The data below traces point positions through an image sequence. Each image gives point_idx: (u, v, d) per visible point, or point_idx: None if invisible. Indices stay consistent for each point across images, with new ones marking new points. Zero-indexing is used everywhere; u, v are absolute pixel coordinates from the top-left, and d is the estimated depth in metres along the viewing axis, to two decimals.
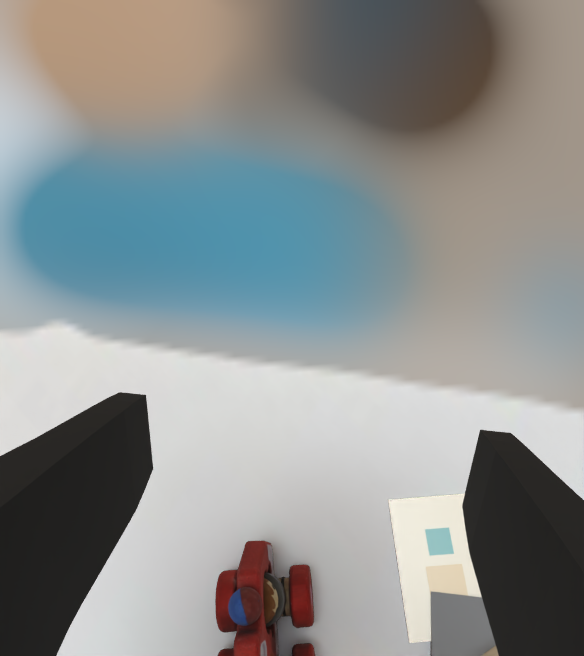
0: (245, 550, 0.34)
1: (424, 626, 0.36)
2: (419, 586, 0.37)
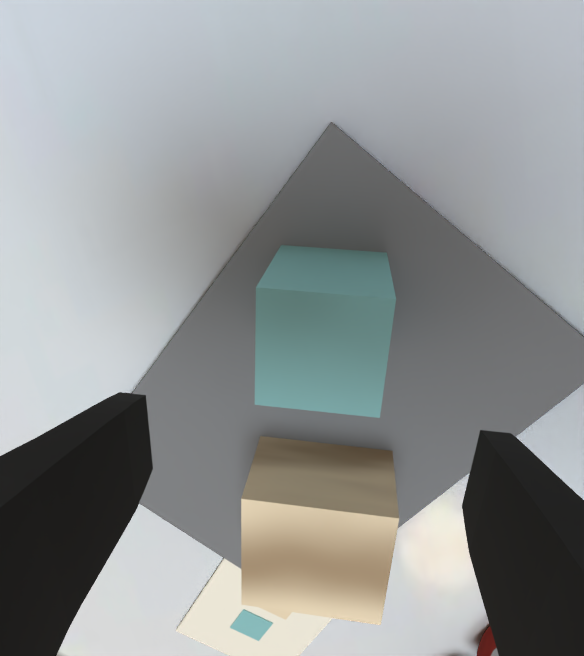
0: None
1: None
2: None
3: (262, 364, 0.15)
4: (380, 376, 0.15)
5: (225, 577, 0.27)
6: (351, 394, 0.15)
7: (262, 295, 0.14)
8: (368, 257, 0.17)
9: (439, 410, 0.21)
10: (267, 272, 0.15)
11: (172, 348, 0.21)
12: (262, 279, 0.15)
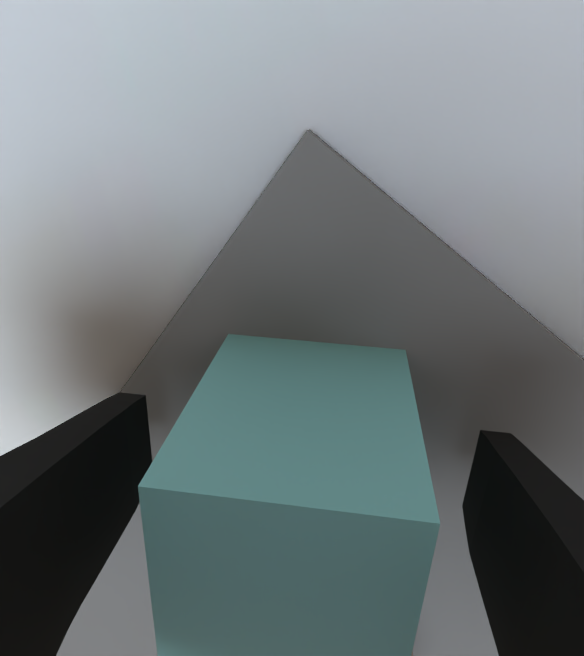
0: None
1: None
2: None
3: (166, 613, 0.08)
4: (402, 649, 0.07)
5: None
6: None
7: (153, 501, 0.07)
8: (375, 365, 0.10)
9: None
10: (180, 423, 0.08)
11: None
12: (162, 451, 0.07)
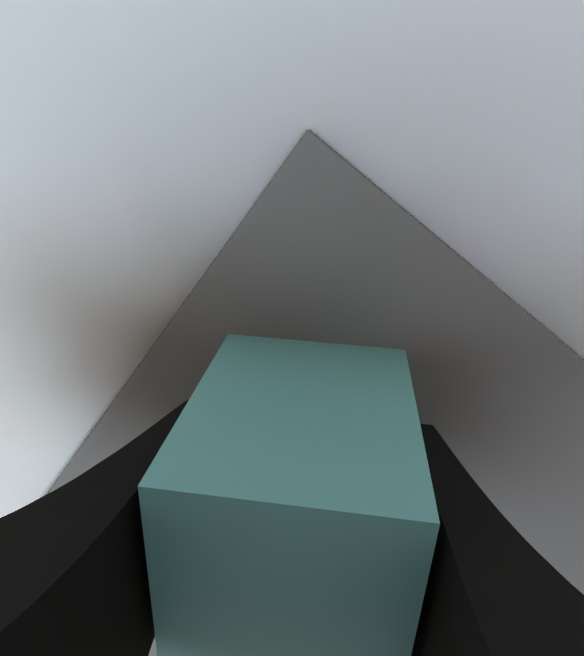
0: None
1: None
2: None
3: (166, 613, 0.08)
4: (402, 649, 0.07)
5: None
6: None
7: (152, 501, 0.07)
8: (374, 365, 0.10)
9: None
10: (179, 424, 0.08)
11: (69, 478, 0.14)
12: (162, 451, 0.07)
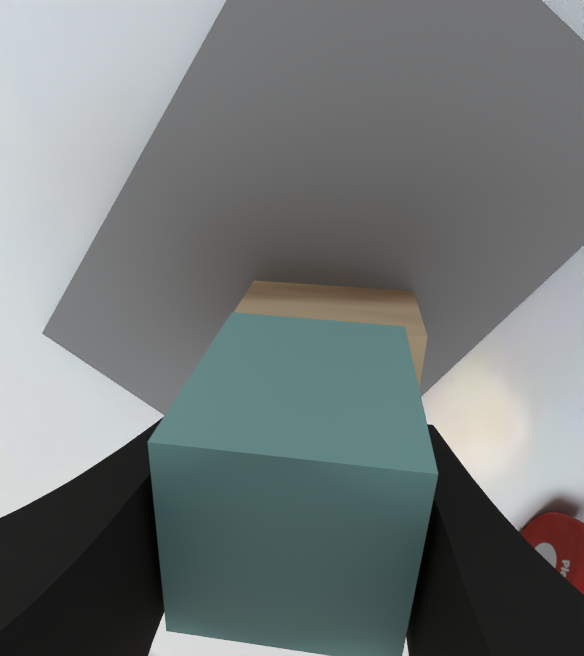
0: None
1: None
2: None
3: (174, 571, 0.08)
4: (402, 604, 0.07)
5: None
6: (345, 627, 0.08)
7: (162, 456, 0.07)
8: (375, 339, 0.10)
9: (471, 230, 0.17)
10: (186, 389, 0.08)
11: (144, 163, 0.17)
12: (170, 412, 0.07)
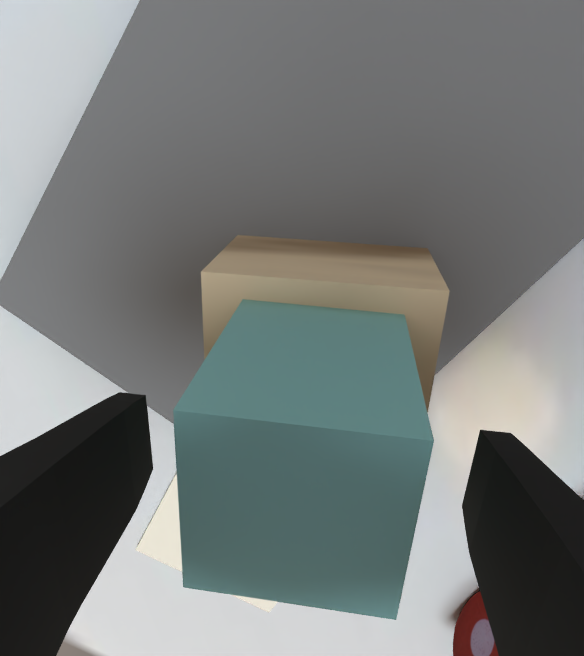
0: None
1: None
2: None
3: (192, 530, 0.09)
4: (399, 561, 0.08)
5: None
6: (347, 583, 0.09)
7: (186, 423, 0.08)
8: (377, 326, 0.11)
9: (500, 171, 0.14)
10: (205, 366, 0.09)
11: (106, 88, 0.14)
12: (191, 385, 0.08)
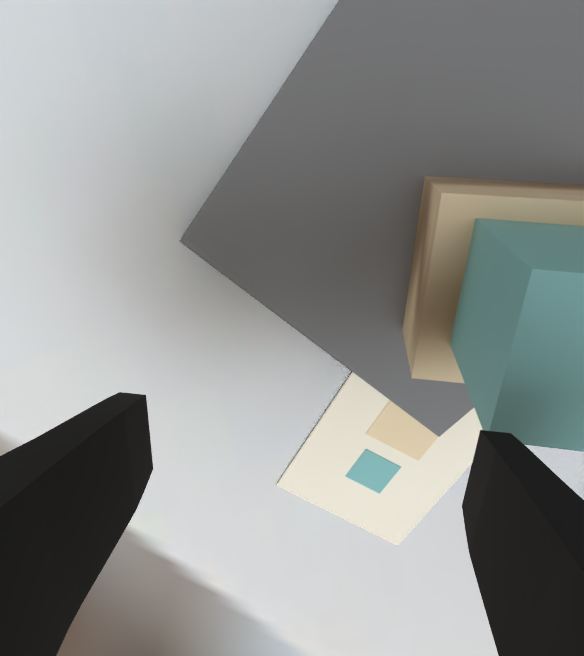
0: None
1: None
2: (448, 447, 0.22)
3: (513, 383, 0.10)
4: None
5: (348, 403, 0.22)
6: None
7: (539, 281, 0.09)
8: None
9: None
10: (515, 249, 0.11)
11: (322, 40, 0.16)
12: (523, 258, 0.10)
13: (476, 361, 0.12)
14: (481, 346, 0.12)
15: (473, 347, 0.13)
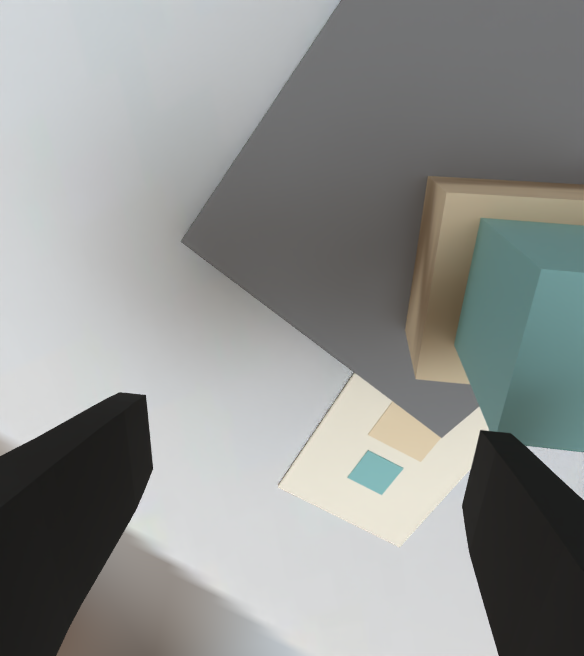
0: None
1: None
2: (450, 448, 0.22)
3: (521, 384, 0.10)
4: None
5: (351, 404, 0.22)
6: None
7: (548, 281, 0.09)
8: None
9: None
10: (522, 249, 0.10)
11: (324, 39, 0.16)
12: (531, 258, 0.10)
13: (482, 362, 0.12)
14: (487, 347, 0.12)
15: (479, 348, 0.13)
